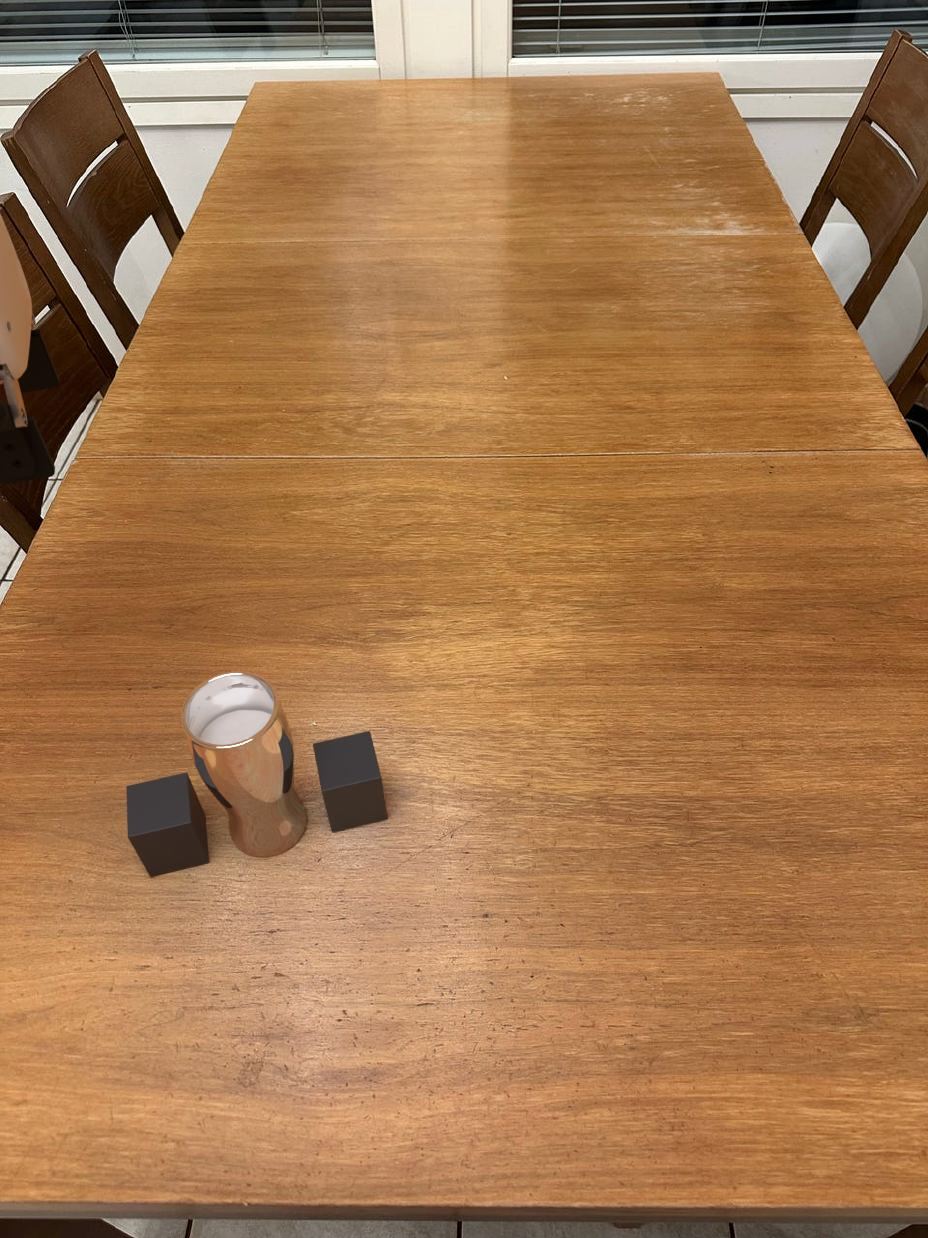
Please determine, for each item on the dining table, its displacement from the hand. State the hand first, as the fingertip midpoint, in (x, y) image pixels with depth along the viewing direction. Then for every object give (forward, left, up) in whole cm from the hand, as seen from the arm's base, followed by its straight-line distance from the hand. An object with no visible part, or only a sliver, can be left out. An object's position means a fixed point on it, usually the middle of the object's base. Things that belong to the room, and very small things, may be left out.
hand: (32, 430), depth 60 cm
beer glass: (+8, -13, -31) cm, 34 cm away
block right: (+15, -13, -30) cm, 36 cm away
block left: (+1, -13, -30) cm, 33 cm away
